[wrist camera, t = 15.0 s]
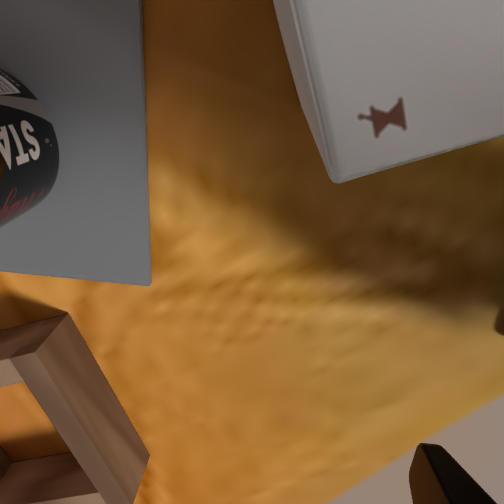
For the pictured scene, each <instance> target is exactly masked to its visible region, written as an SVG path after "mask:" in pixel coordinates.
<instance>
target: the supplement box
mask: <svg viewBox="0 0 504 504" xmlns="http://www.w3.org/2000/svg"><path fill="white" fill-rule="evenodd" d="M273 3H274V8H275V12H276V16H277V20H278V24H279V28H280V32H281V35H282V39H283V43H284V47H285V51H286V54H287V58H288V62H289V66H290V69H291V73H292V76H293V79H294V83H295V86H296V90H297V93H298V97H299V100H300V104H301V108H302V110H303V112H304V115H305V117H306V119H307V122H308V125H309V127H310V130H311V132H312V135H313V137H314V140H315V143H316V145H317V148H318V150H319V153H320V155H321V158H322V160H323V163H324V165H325V168H326V170H327V173H328V176H329V178H330V179H331V180H332V182H334V183H337V184H340V183H343V182H346V181H349V180H353V179H356V178H359V177H362V176H366V175H369V174H373V173H376V172H380V171H383V170H386V169H390V168H393V167H397V166H400V165H404V164H407V163H411V162H414V161H418V160H421V159H425V158H428V157H432V156H435V155H439V154H442V153H446V152H449V151H453V150H456V149H460V148H463V147H467V146H470V145H474V144H477V143H480V142H484V141H487V140H491V139H494V138H498V137H501V136H504V0H273Z"/></svg>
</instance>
